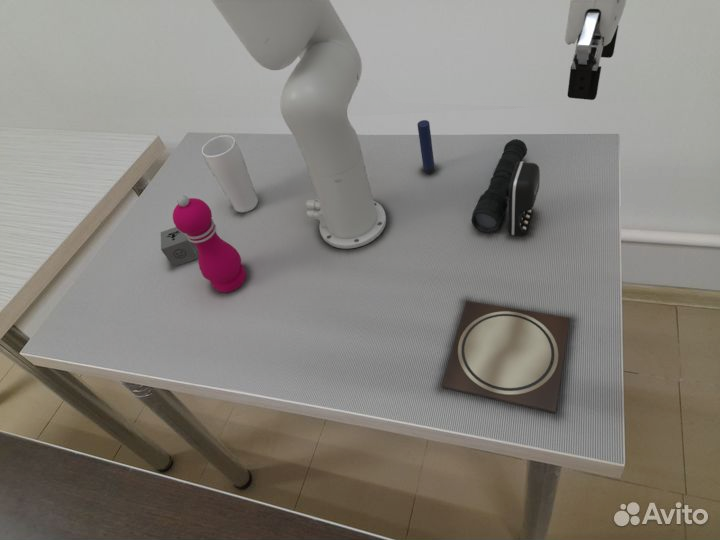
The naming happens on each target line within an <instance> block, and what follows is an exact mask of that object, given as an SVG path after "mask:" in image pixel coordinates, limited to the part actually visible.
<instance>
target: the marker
mask: <svg viewBox="0 0 720 540" xmlns="http://www.w3.org/2000/svg"><path fill="white" fill-rule="evenodd" d="M416 125H417V132H418V138H419V146H420V154H421V161H422V162H421V163H422V168H423V173H424V174H425V175H432V174H434V173H435V171H436V169H435V161H434V160H435V159H434V151H433V142H432V134H431V125H430V121H429V120H427V119H422V120H419V121H418V122H417V124H416Z"/></svg>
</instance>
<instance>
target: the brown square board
mask: <svg viewBox="0 0 720 540" xmlns="http://www.w3.org/2000/svg"><path fill="white" fill-rule="evenodd" d="M569 326H570V317H568V316H561V315H555V314H550V313H542V312H536V311H531V310H524V309H518V308H511V307H507V306H501V305H495V304H488V303H482V302H476V301H469V300H466V301H465V304H464V309H463V310H462V314H461V318H460V321H459V324H458V328H457V332H456V334H455V338H454V342H453V345H452V348H451V351H450V355H449V358H448V362H447V365H446V369H445V372H444V376H443V379H442V382H441V388H444V389H447V390H452V391H456V392H461V393H465V394H469V395H474V396H478V397H483V398H486V399H490V400H491V399H492V400H495V401H500V402H505V403H508V404H513V405H517V406H521V407H526V408H529V409H535V410H538V411H544V412H547V413H551V414H556V413H557V408H558V401H559V394H560V386H561V380H562V374H563V367H564V360H565V354H566V347H567V340H568V333H569Z"/></svg>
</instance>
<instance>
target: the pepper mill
mask: <svg viewBox="0 0 720 540" xmlns="http://www.w3.org/2000/svg"><path fill="white" fill-rule="evenodd" d="M176 200H177V201H176V202H177V204H176V206H175V207H174V209H173V211H172V220H173V224H174V226H175V227H177V229H178V230H180V231H181V232H183V233H185V236H186V237H187V239H188V240H189V241H190V242H192V243H194V244H195V245H196V247H197V250H198V267H199V270H200V272H201V275H202V276H203V278H205V279H206V280H208V281H210V283H211V285H212V286H213V288H214V289H215V290H216V291H217V292H220V293H230V292H234V291H235V290H237V289H239V288H240V287H241V286H242V285H243V284H244V283H245V281H246V279H247V271H246V270H245V268H244V265H243V264H242V257H241V255H240V253H239V252H238V250H237V249H236V248H235V247H234V246H233V245H232V244H230V243H228V242H226V241H225V240H224V239H222V238H221V237H220V236H219V235H218V233H217V224H216V223H215V221H214V220H213V219H212V217H213V214H212V210H211V208H210V206H209V205H208V203H206V202H205V201H204V200H202V199H201V198H196V197H191V198H190V197H188V196H187V195H184V194H181V195H179V196H177V199H176Z"/></svg>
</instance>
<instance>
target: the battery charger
mask: <svg viewBox="0 0 720 540" xmlns="http://www.w3.org/2000/svg"><path fill="white" fill-rule="evenodd" d="M540 172H541V171H540V167H539V165H538V164H537V163H535V162H526V161H523V160H522V161H521V162H517V163H516V165H515V168H514V171H513V174H512V177H511V180H510V184H509V197H508V198H507V207H508V210H507V212H508V213H507V216H508V217H507V224H508V225H507V233H508V235H511V236H526V235H527V234H528V232H529V229H530V226H531V223H532V219H533V217H534V210H533V207H534V206H535V203H536V200H537V195H538V192H539V189H540V183H541V182H540V179H541V178H540V177H541V173H540Z"/></svg>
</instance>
